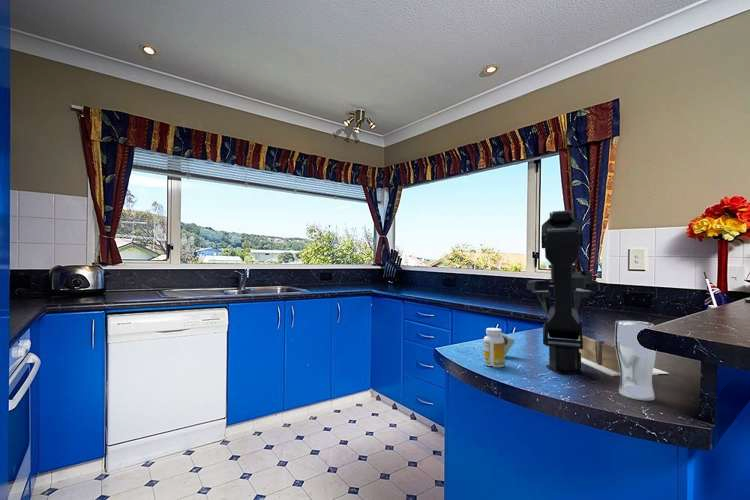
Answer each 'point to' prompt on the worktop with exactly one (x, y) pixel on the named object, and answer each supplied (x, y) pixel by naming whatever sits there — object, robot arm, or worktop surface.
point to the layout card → (609, 371)
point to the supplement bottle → (494, 348)
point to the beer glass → (634, 361)
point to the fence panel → (589, 349)
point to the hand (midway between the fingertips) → (562, 315)
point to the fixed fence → (607, 356)
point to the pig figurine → (507, 342)
